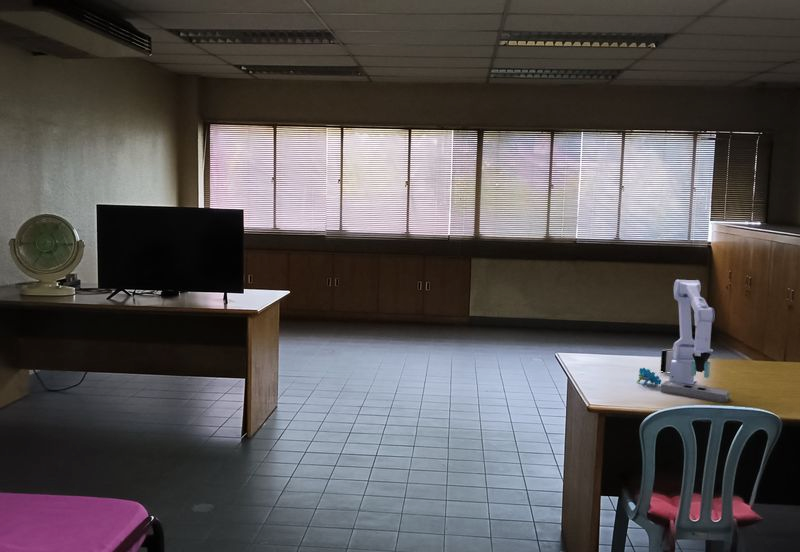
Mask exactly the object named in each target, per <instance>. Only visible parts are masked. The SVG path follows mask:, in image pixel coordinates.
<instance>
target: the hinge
mask: <svg viewBox="0 0 800 552" xmlns="http://www.w3.org/2000/svg"><path fill="white" fill-rule="evenodd" d="M673 348H674V346H672V348H671V349H670V348H669V349H663V350H661V357H660V358H661V360H660V371H663V372H670V365H671V361H672V360H675V359H674V357H673ZM663 372H662V373H663Z"/></svg>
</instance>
